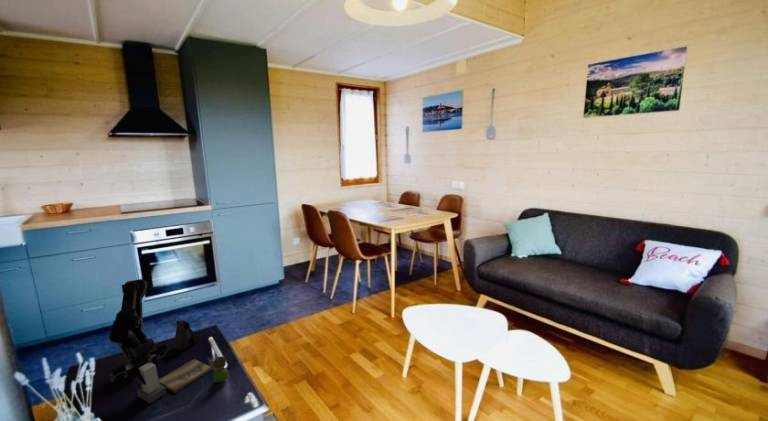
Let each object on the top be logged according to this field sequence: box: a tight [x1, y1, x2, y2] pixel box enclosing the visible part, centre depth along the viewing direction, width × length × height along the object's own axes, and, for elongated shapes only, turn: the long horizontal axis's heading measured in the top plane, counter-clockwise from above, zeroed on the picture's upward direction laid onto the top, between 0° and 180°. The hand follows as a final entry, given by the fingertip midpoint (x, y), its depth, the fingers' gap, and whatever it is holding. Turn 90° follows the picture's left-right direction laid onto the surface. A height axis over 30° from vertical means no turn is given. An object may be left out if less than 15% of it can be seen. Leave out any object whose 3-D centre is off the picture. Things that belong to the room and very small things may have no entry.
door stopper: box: [172, 318, 200, 352], centre depth 160 cm, size 9×6×12 cm, turn 148°
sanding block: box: [136, 362, 168, 404], centre depth 128 cm, size 8×6×12 cm
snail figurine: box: [207, 356, 230, 384], centre depth 134 cm, size 5×6×12 cm
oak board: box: [158, 358, 213, 394], centre depth 139 cm, size 12×15×1 cm
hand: (151, 380), depth 127 cm, fingers closed on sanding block, 4 cm apart
